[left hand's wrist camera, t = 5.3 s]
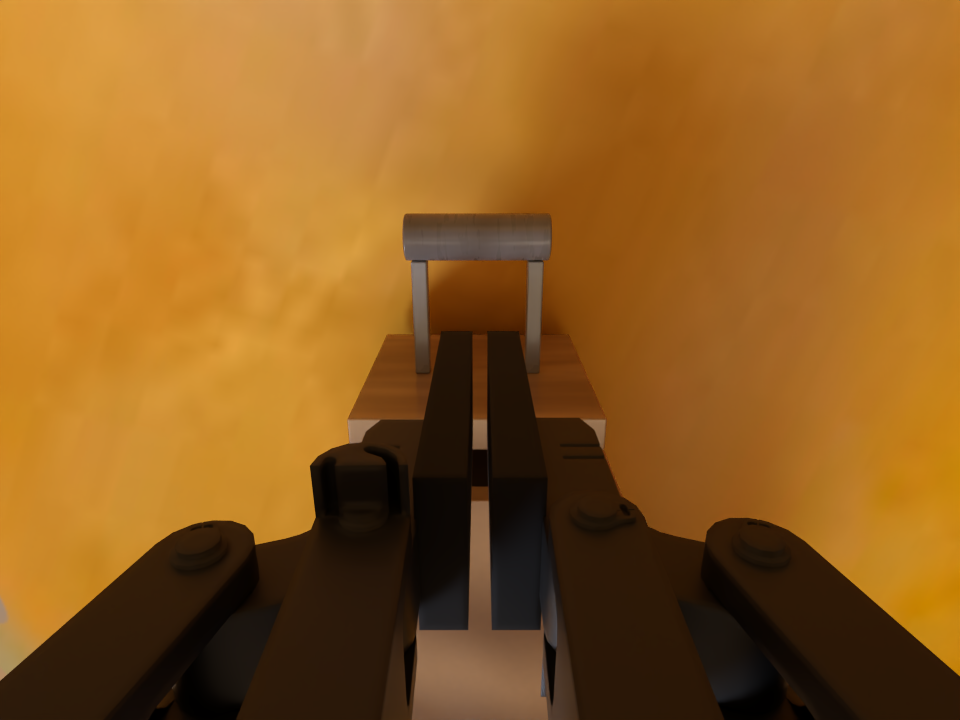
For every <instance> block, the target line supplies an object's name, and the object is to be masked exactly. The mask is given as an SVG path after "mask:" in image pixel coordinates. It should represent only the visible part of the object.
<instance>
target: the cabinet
mask: <svg viewBox="0 0 960 720" xmlns="http://www.w3.org/2000/svg"><path fill="white" fill-rule="evenodd" d="M602 451H603V453H604V456H605V459H606V461H607V463H608V466H609V469H610V471H611V474H612V476H613V479H614V481H615V484H616V486H617V489H618V492H619V494H620V496H621V497H623V496H622V494H621V491H620V489H619V487H618V485H617V482H616V480H615V477H614V475H613V472H612V470H611V467H610V465H609V462H608V459H607V457H606V454H605V452H604V449H602ZM416 637H417V657H418V659H417V670H416V681H415V691H414V702H413V713H412V720H548V712H547V701H546V697H541V678H542V657H543V637H544V627H543V620H542V612H541V630H492V623H491V581H490V538H489V496H488V487H472V495H471V538H470V580H469V622H468V630H419V615H418V622H417V630H416Z"/></svg>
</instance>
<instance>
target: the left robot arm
mask: <svg viewBox="0 0 960 720" xmlns="http://www.w3.org/2000/svg"><path fill="white" fill-rule="evenodd" d="M472 453H473V331H441V335H440V340H439V345H438V350H437V355H436V360H435V365H434V370H433V375H432V380H431V385H430V390H429V396H428V401H427V406H426V411H425V416H424V419H381V420H380V421H378V422H377V423H376V424H375V425H373V426H372V427H371V428H370V429H369V430H367V431H366V432H365V435H364V437H363V440H362V442H359V443H350V444H346V445H342V446H339V447H336V448H332V449H330V450H328V451H327V452H325V453H323V454H321V455H320V456H318V457H317V458H316V459H315V461H314V462H313V463H312V464H311V465H310V471H311V479H312V488H313V496H314V505H315V514H316V518H315V521H314V524H313V526H312V529H311V530H309V531H307V532H305V533H303V534H300V535H297V536H293V537H290V538H286V539H282V540H277V541H272V542H267V543H263V544H258V545H255V541H254V535H253V533H252V532H251V531H250V530H249V529H248V528H247V527H246V526H245V525H242V524H239V523H236V522H233V521H208V522H203V523H197V524H193V525H190V526H188V527H186V528H183V529H181V530H178V531H176V532H173V533H172V534H170V535H169V536H167V537H166V538H164V539H163V540H161V541H160V542H158V543H157V544H156V545H154V546H153V547H152V548H151V549H150V550H149V551H148V552H146V553H145V554H144V555H143V556H142V557H141V558H140V559H138V560H137V561H136V562H135V563H134V564H133V565H132V566H130V567H129V568H128V569H127V570H126V571H125V572H124V573H123V574H121V575H120V576H119V577H118V578H117V579H116V580H115V581H113V582H112V583H111V584H110V585H109V586H108V587H107V588H105V589H104V590H103V591H102V592H101V593H100V594H99V595H97V596H96V597H95V598H94V599H93V600H92V601H91V602H89V603H88V604H87V605H86V606H85V607H84V608H83V609H82V610H80V611H79V612H78V613H77V614H76V615H75V616H74V617H72V618H71V619H70V620H69V621H68V622H67V623H66V624H64V625H63V626H62V627H61V628H60V629H59V630H58V631H56V632H55V633H54V634H53V635H52V636H51V637H50V638H49V639H47V640H46V641H45V642H44V643H43V644H42V645H41V646H39V647H38V648H37V649H36V650H35V651H34V652H33V653H31V654H30V655H29V656H28V657H27V658H26V659H25V660H23V661H22V662H21V663H20V664H19V665H18V666H17V667H16V668H14V669H13V670H12V671H11V672H10V673H9V674H8V675H6V676H5V677H4V678H3V679H2V680H1V681H0V720H412V713H413V702H414V691H415V681H416V670H417V659H418V657H417V637H416V630H417V622H418V615H419V630H468V622H469V580H470V538H471V495H472ZM487 454H488V496H489V538H490V581H491V623H492V630H541V612H542V620H543V627H544V637H543V657H542V678H541V697H546V701H547V712H548V720H960V676H959V675H957V674H956V673H955V672H954V671H953V670H952V669H951V668H949V667H948V666H947V665H946V664H945V663H944V662H943V661H941V660H940V659H939V658H938V657H937V656H936V655H935V654H933V653H932V652H931V651H930V650H929V649H928V648H927V647H925V646H924V645H923V644H922V643H921V642H920V641H918V640H917V639H916V638H915V637H914V636H913V635H912V634H910V633H909V632H908V631H907V630H906V629H905V628H904V627H902V626H901V625H900V624H899V623H898V622H897V621H896V620H894V619H893V618H892V617H891V616H890V615H889V614H887V613H886V612H885V611H884V610H883V609H882V608H881V607H879V606H878V605H877V604H876V603H875V602H874V601H873V600H871V599H870V598H869V597H868V596H867V595H866V594H865V593H863V592H862V591H861V590H860V589H859V588H858V587H857V586H855V585H854V584H853V583H852V582H851V581H850V580H848V579H847V578H846V577H845V576H844V575H843V574H842V573H840V572H839V571H838V570H837V569H836V568H835V567H834V566H832V565H831V564H830V563H829V562H828V561H827V560H826V559H824V558H823V557H822V556H821V555H820V554H819V553H817V552H816V551H815V550H814V549H813V548H812V547H811V546H809V545H808V544H807V543H806V542H805V541H803V540H802V539H800V538H799V537H797V536H796V535H795V534H793V533H792V532H790V531H789V530H786V529H784V528H782V527H779V526H777V525H774V524H772V523H769V522H766V521H762V520H757V519H751V518H728V519H725V520H722V521H719V522H716V523H714V525H713V526H712V527H711V528H710V529H709V530H708V531H707V535H706V541H705V542H700V541H695V540H691V539H686V538H681V537H676V536H672V535H669V534H665V533H661V532H659V531H656V530H654V529H652V528H650V527H648V525H647V523H646V520H645V518H644V516H643V514H642V513H641V512H640V510H639V509H638V508H637V506H636V505H634V504H633V503H631V502H630V501H628V500H627V499H625V498H623V497H621V496H620V494H619V492H618V489H617V486H616V484H615V481H614V479H613V476H612V474H611V471H610V469H609V466H608V463H607V461H606V459H605V456H604V453H603V451H602V448H601V447H600V443H599V440H598V438H597V435H596V433H595V430H594V429H593V428H592V427H590V426H589V425H588V424H587V423H585V422H584V421H583V420H582V419H580V418H536V416H535V411H534V406H533V401H532V396H531V391H530V386H529V380H528V375H527V370H526V365H525V360H524V355H523V350H522V345H521V340H520V335H519V331H487Z"/></svg>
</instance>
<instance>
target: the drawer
mask: <svg viewBox="0 0 960 720" xmlns="http://www.w3.org/2000/svg"><path fill="white" fill-rule="evenodd" d="M551 245H552V222H551V216H550V214H405V215H404V219H403V250H404V256H405V259H406V260H412V262H411V274H412V298H413V322H414V335H387V336H386V338H385V341H384V343H383V345H382V347H381V349H380V351H379V353H378V356H377V358H376V360H375V362H374V364H373V366H372V368H371V371H370V373H369V375H368V377H367V379H366V381H365V383H364V385H363V388H362V390H361V392H360V394H359V396H358V398H357V400H356V403H355V405H354V407H353V409H352V411H351V413H350V415H349V417H348V431H349V443H359V442H362V440H363V437H364V435H365V432H366V431H367V430H369V429H370V428H371V427H372V426H373V425H375V424H376V423H377V422H378V421H380V420H381V419H424V416H425V411H426V406H427V401H428V396H429V390H430V385H431V380H432V375H433V370H434V365H435V360H436V355H437V350H438V345H439V340H440V335H430V310H429V278H428V260H527V273H526V309H525V335H520V340H521V345H522V350H523V355H524V360H525V365H526V370H527V375H528V380H529V386H530V391H531V396H532V401H533V406H534V411H535V416H536V418H580V419H582V420H583V421H584V422H585V423H587V424H588V425H589V426H590V427H592V428H593V429H594V430H595V433H596V435H597V438H598V440H599V443H600V447H601V448H602V449H604V446H605V434H606V422H607V419H606V417H605V415H604V413H603V410H602V408H601V406H600V404H599V401H598V399H597V397H596V395H595V392H594V390H593V388H592V386H591V384H590V381H589V379H588V377H587V375H586V372H585V370H584V368H583V366H582V363H581V361H580V359H579V357H578V355H577V352H576V350H575V348H574V346H573V343H572V341H571V339H570V337H569V335H541V321H542V295H543V269H544V262H543V260H549V258H550V254H551ZM472 487H488V454H487V335H473V453H472Z"/></svg>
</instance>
